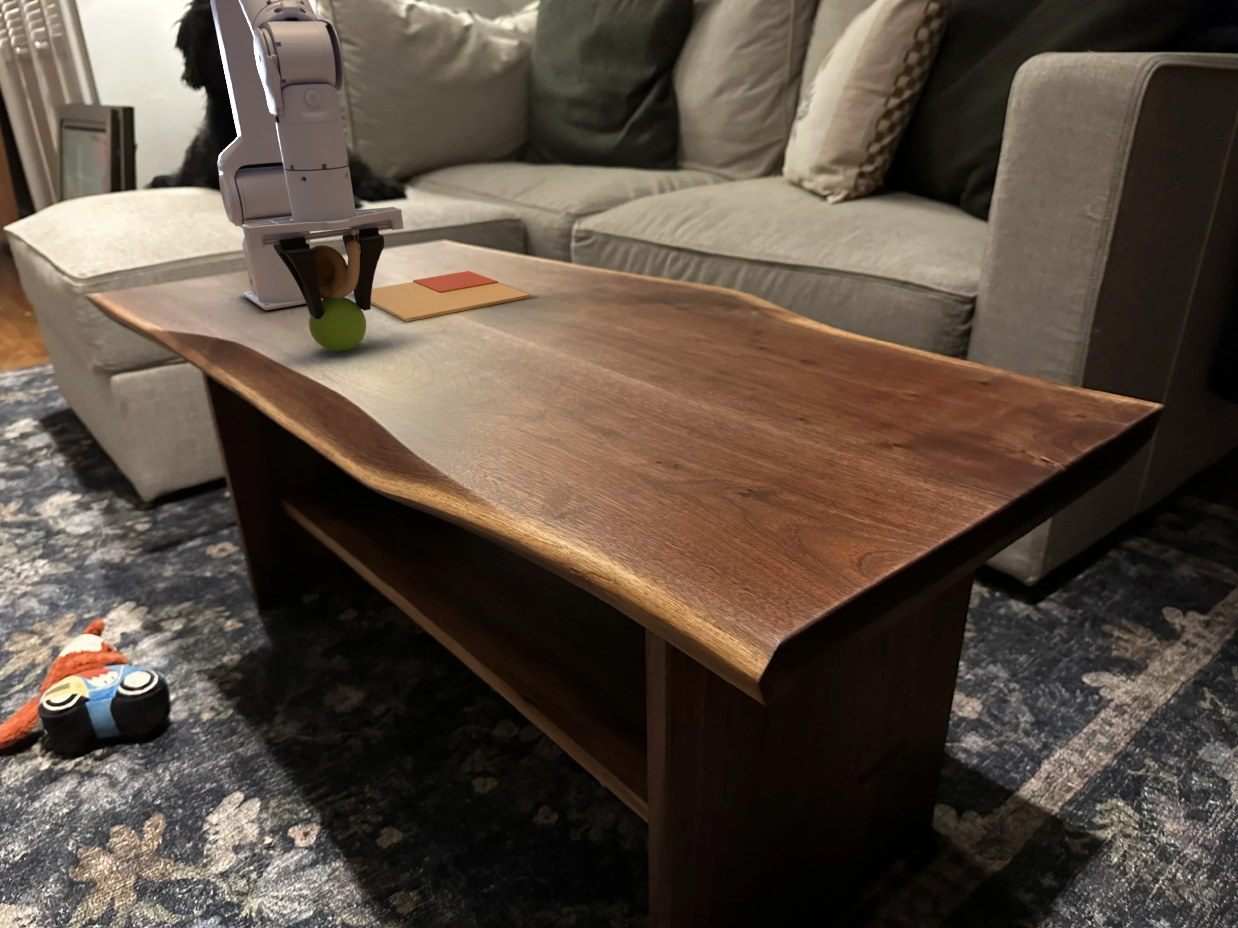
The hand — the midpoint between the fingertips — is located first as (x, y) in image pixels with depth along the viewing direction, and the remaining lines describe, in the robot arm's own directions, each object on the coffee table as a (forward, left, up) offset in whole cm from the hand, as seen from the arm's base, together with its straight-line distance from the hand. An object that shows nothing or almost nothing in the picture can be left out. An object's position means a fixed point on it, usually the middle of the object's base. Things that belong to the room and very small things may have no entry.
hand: (340, 312), depth 86 cm
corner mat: (-14, +17, -4) cm, 22 cm away
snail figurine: (0, 0, -4) cm, 4 cm away
